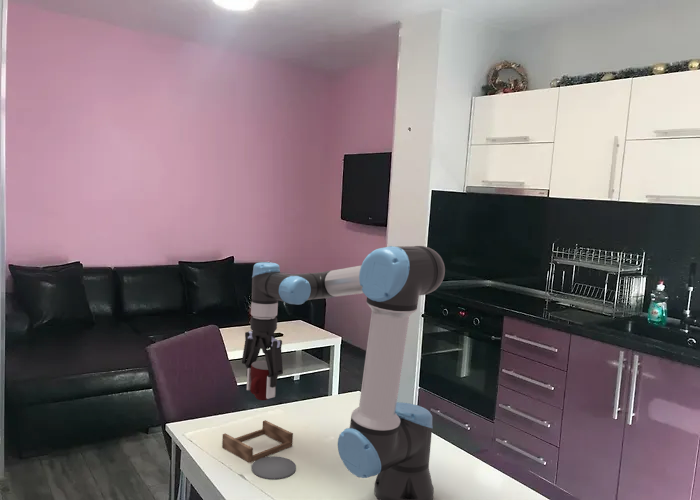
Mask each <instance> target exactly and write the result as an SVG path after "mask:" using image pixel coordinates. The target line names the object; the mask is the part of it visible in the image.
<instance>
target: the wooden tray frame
mask: <svg viewBox="0 0 700 500" xmlns="http://www.w3.org/2000/svg"><path fill="white" fill-rule="evenodd" d="M263 435H264V436H266V437H269V438H270V439H273V440H275V441H276V442H279V443H281V444H278V445H276V446H273V447H270V448H268V449H265V450H263V451H260V452H257V453H254V448H253V447H251V446H250V445H248V444H247V443H244V442H246V441H249V440H251V439H254V438H258V437H260V436H263ZM221 440H222V441H221V448H222V449H224V450H226V451H227V452H229V453H231V454H233V455H235V456H236V457H238V458H240V459H241V460H243V461H245V462H247V463H249V464H252V463H254V462H255V461H256V460H258V459H260V458H263V457H269V456H272V455H274V454H277V453H278V452H282V451H285V450H287V449H289V448H292V447H293V440H294V433H293V432H291V431H289V430H287V429H285V428H282V427H280V426H278V425H276V424H274V423H272V422H270V421H268V420H263V421H262V428H261V429H257V430H256V431H255V430H254V431H253V432H252V431H251V432H249V433H246V434H244V435H240V436H238V437H233V436H231V435H229V434H227V433H223V434H222V439H221Z"/></svg>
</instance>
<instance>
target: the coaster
mask: <svg viewBox="0 0 700 500" xmlns="http://www.w3.org/2000/svg"><path fill="white" fill-rule="evenodd" d="M296 470H297V465H296V463H295V462H294V461H293V460H292V459H290V458H287V457H283V456H277V455H276V456H275V455H274V456H273V455H269V456H266V457H263V458H260V459H258V460H256V461H254V462H252V463H251V472H252V473H253V474H254V475H255V476H256V477H259V478H260V479H261V478H262V479H264V480H270V481H271V480H272V481H273V480H283V479H286V478H289V477H291V476H293V475H294V474H295V473H296Z"/></svg>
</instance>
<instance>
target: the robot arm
mask: <svg viewBox="0 0 700 500" xmlns="http://www.w3.org/2000/svg"><path fill="white" fill-rule="evenodd" d="M280 267H281V266H280V265H279V264H278V263H275V262H270V261H269V262H265V261H262V262H256V263H255V264H254V265H253V270H252V276H251V279H252V280H251V304H250V305H251V306H250V315H251V317H250V330H251V331H245V332H244V340H245V341H244V345H243V346H244V347H243V352H242V357H241V364H242V365H245V368H246V375H245V376H246V391H250V386H251V374H250V373H251V364H252V363H253V362H255V361H258V357H259V355H260V352H261V350H262V354H264V356H265V361H266V362H267V367H268V371H269V375H267V389H266V398H267V399H268V400H269V399H272V398H275V397H276V388H277V386H278V385H277V384H278V383H277V382H278V378H277V376H278V377H279V376H281V375H283V374H284V368H283V357H282V345H283V341H282V339H278V338H276V336H275V331H276V330H277V328H278V318H277V317H278V309H279V308H278V307H279V301H281V302H283V303H286V304H289V305H302V304H305V302H307V301H311V300H318V299H332V298H335V297H344V296H351V295H352V296H353V295H361V294H364V296H366V301H365V303H366V304H367V306H368V307H369V308H370V309H371V315H370V322H369V327H368V329H369V330H368V337H367V344H366V351H365V358H364V367H363V375H362V380H361V381H362V382H361V383H362V384H361V390H360V396H359V397H360V398H359V406H358V407H356V408H355V409H353V410H352V412H351V416H350V422H349V423H350V424H349V427H347V428H345V429H344V430H343V431H341V432H340V434H339V436H338V439H337V451H338V455H339V457H340V460H341V461H342V463H343V465H344V466H345V468H346V469H347V470H348V471H349V472H350V474H352V475H353V476H356V477H357V478H361V479H367V478H370V477H373V476H374V477H375V476H376V478H375V481H374V486H373V487H374V489H373V492H374V496H375V497H376V498H377V500H434V494H435V493H434V492H435V490H434V485H433V480H432V477H431V471H430V457H431V456H430V455H431V444H432V435H433V434H432V433H433V432H432V431H433V429H434V428H433V427H434V426H433V415H432V413H431V411H430V410H428V409H427V408H426V407H422V406H421V405H418V404H417V405H416V404H413V403H408V402H403V401H402V402H401V401H399V402H398V396H399V390H400V389H399V388H400V382H401V376H402V374H401V373H402V370H403V361H404V354H405V346H406V341H407V333H408V327H409V326H408V325H409V321H410V320H409V319H410V316H411V315H412V314H413V313H416V312H417V311H418V304H419V297H420V296H424V295H428V294H430V293H432V292H434V291H436V290H437V289H438V288H439V287H440V286H441V284H442V283H443V280H444V279H445V275H446V274H445V272H446V267H445V263H444V260H443V258H442V256H441V255H440V254H439V253H438V252H437V251H435V249H432V248H430V247H429V246H424V245H415V246H414V245H412V246H409V245H407V246H404V245H403V246H399V245H398V246H392V245H389V246H386V247H385V246H384V247H380V248H376V249H375V250H374V249H373V250H372V251H371V252H370V253H368V254H367V256H366V257H365V258H364V260H363V261H362V263H361V265H356V266H351V267H345V268H339V269H332V270H326V271H320V272H311V273H308V272H306V273H296V274H295V273H294V274H289V273H283V272H281V270H280Z"/></svg>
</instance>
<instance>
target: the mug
mask: <svg viewBox="0 0 700 500" xmlns="http://www.w3.org/2000/svg"><path fill="white" fill-rule="evenodd" d="M250 374H251V386H250V390H249V391H250V393H251V394H252V395H254V397H255V398H256V400H259V401H267V400H269V399H267V398H266V389H267V375H269V371H268V367H267V362H266V360H256V361H255V362H253V363H252V364H251V373H250ZM278 377H279V375H278V376H277V379H279V378H278Z"/></svg>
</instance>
